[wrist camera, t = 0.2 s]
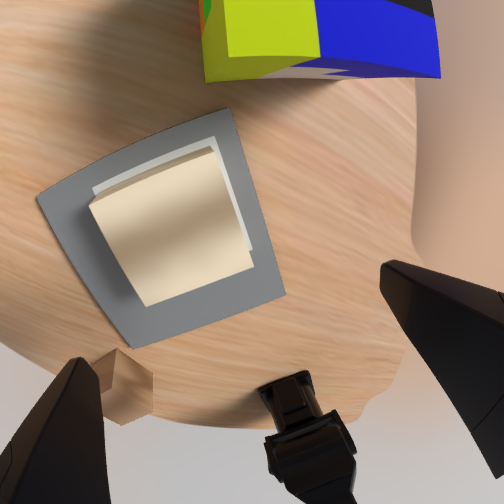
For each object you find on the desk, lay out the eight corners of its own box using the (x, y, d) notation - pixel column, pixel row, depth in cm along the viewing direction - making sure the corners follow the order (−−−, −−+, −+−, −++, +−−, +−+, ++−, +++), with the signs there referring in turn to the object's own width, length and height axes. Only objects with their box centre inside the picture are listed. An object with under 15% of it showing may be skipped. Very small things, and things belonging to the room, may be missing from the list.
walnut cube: (152, 372, 27) (153, 411, 23) (123, 389, 28) (121, 425, 24) (116, 347, 25) (111, 388, 21) (88, 366, 25) (82, 404, 21)
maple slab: (244, 246, 22) (254, 266, 19) (148, 283, 22) (145, 307, 19) (209, 145, 18) (214, 151, 15) (100, 191, 18) (88, 205, 15)
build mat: (284, 291, 26) (286, 295, 25) (133, 345, 25) (133, 349, 24) (228, 107, 18) (229, 107, 17) (39, 193, 17) (35, 196, 16)
